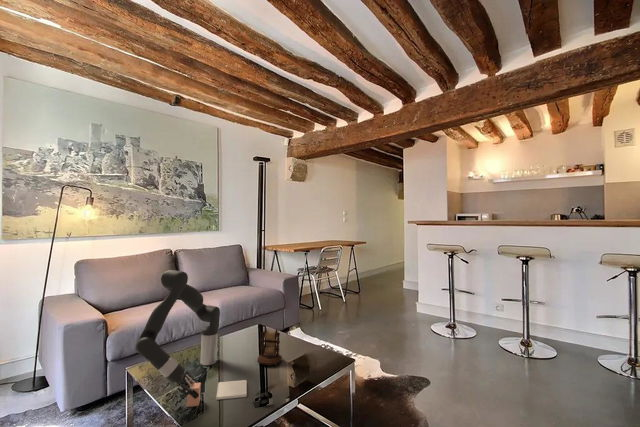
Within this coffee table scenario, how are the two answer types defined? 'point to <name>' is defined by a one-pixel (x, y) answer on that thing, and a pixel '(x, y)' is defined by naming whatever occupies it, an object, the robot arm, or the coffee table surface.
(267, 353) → the brown piece
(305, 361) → the coffee table surface
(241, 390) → the pad
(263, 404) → the black chunky block
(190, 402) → the terracotta block
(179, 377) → the robot arm
